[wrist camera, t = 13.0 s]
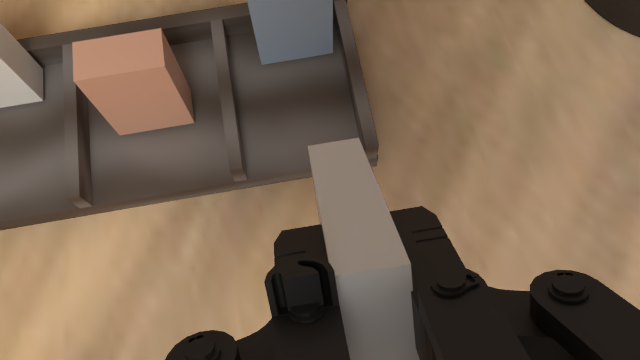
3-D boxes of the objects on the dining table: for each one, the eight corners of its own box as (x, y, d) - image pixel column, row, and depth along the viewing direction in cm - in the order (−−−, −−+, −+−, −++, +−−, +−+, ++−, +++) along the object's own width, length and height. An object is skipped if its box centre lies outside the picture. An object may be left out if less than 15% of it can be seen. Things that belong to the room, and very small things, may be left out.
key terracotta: (194, 123, 38) (164, 66, 32) (119, 135, 38) (73, 81, 32) (190, 90, 39) (161, 28, 33) (117, 102, 39) (72, 42, 32)
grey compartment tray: (376, 165, 39) (380, 145, 36) (-42, 237, 38) (-77, 223, 35) (343, 17, 43) (344, -13, 40) (-35, 79, 42) (-67, 53, 39)
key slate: (333, 53, 40) (332, -15, 33) (261, 64, 40) (246, -2, 33) (326, 23, 41) (324, -50, 34) (256, 34, 41) (241, -37, 34)
